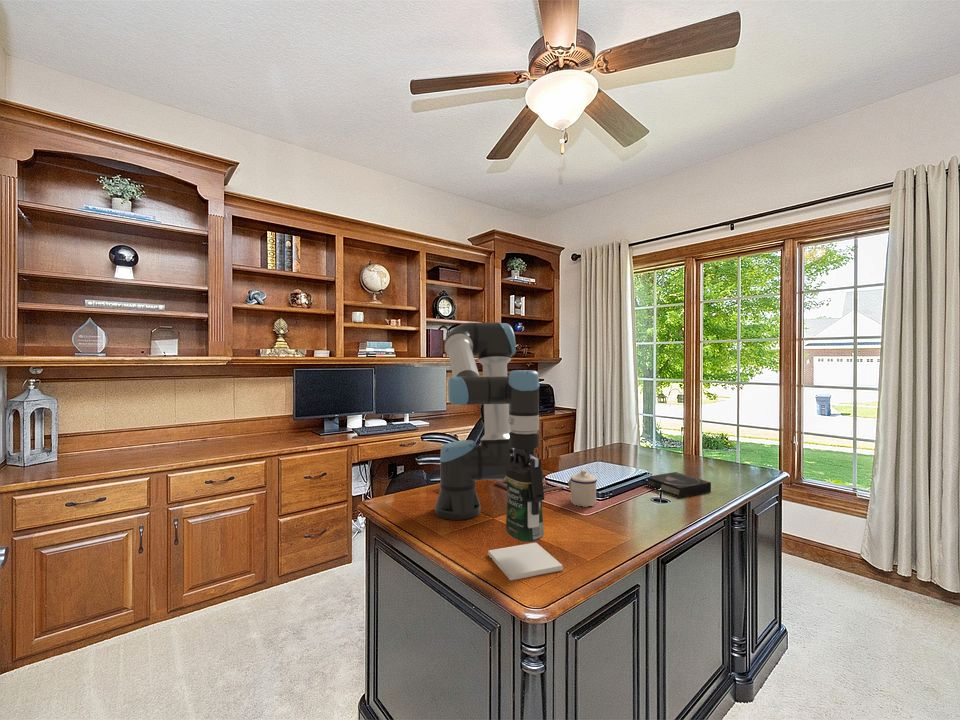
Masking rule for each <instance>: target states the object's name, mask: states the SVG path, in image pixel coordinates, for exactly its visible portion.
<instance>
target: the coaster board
mask: <svg viewBox="0 0 960 720" xmlns="http://www.w3.org/2000/svg"><path fill="white" fill-rule="evenodd" d="M487 555H488V556H489V558H490V559H491V558H492V559H491V561H493V562H494V563H495V565H497V567H498V568H499V570H501V571H502V572H503V573H502V574H504V575H505V576H506V577H507V578H508V580H509V581H515V580H520V579H526V578H530V577H531V578H532V577H535V576H541V575H544V574H550V573H555V572H561V571H563V569H564V567H563V564H562V563H560V561H558V560H557V559H556V558H555V557H554V556H553V555H551V554H550V553H549V552H548V551H546V549H544V548H543V547H542V546H541V545H540V544H538V543H537V542H530V543H524V544H519V545H512V546H507V547H501V548H495V549H490V550H489V549H488V554H487Z"/></svg>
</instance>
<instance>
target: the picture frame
mask: <svg viewBox="0 0 960 720" xmlns="http://www.w3.org/2000/svg"><path fill="white" fill-rule="evenodd" d="M547 475H549V474H548V473H545V472H543V477H545V476H547ZM543 479H544V478H543ZM543 484H544V483H543ZM495 485H496V486H497V487H500V488H502V489H504V490H506V491H507V481H506V479H504V480H498V481H495ZM562 488H563V487H554V488H553V487H549V486H547V485H546V486H545V485H544V486H543V490H544V493H546V492H551V491H556V490H561V489H562Z"/></svg>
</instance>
